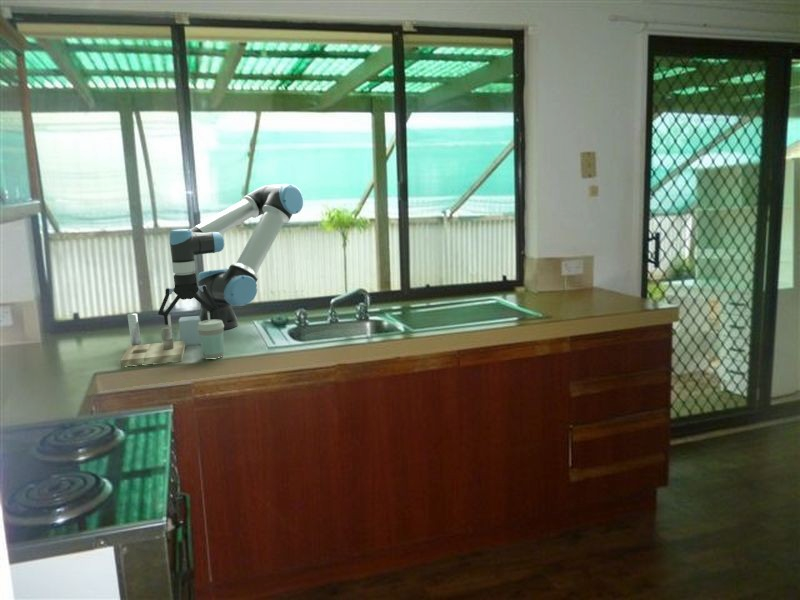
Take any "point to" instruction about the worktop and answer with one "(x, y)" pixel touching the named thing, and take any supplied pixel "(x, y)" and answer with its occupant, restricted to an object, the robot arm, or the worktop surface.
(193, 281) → the robot arm
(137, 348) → the board
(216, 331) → the coffee cup
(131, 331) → the peg
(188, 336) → the block
